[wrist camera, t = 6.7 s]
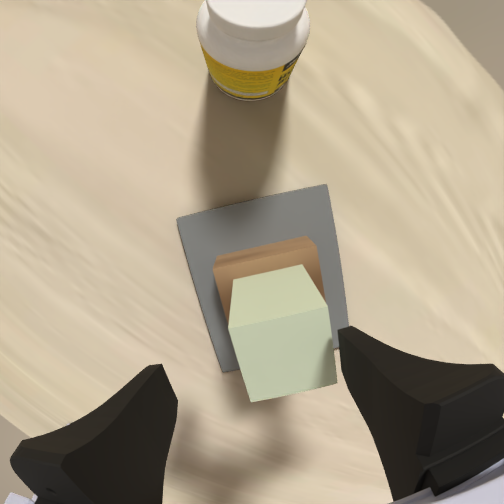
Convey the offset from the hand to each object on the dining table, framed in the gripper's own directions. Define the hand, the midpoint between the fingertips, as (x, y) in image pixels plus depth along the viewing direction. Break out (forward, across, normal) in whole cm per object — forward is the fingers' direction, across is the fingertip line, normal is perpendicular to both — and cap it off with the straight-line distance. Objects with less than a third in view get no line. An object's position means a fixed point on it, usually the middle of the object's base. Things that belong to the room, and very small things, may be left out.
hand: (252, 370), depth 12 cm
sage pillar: (+7, -1, 0) cm, 7 cm away
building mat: (+10, -1, 0) cm, 10 cm away
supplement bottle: (+10, -3, -15) cm, 18 cm away
